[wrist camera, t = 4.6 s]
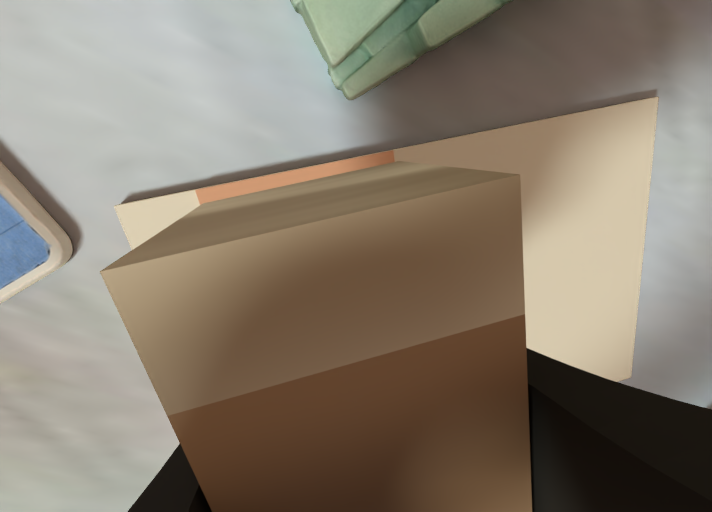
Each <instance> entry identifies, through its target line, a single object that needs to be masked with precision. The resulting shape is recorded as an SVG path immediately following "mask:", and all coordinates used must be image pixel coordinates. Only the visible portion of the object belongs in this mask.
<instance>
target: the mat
mask: <svg viewBox="0 0 712 512" xmlns="http://www.w3.org/2000/svg"><path fill="white" fill-rule="evenodd" d="M658 99H659V97H653V98H646V99H641V100H636V101H631V102H626V103H621V104H616V105H611V106H606V107H601V108H596V109H592V110H587V111H582V112H577V113H572V114H567V115H562V116H557V117H552V118H547V119H542V120H537V121H532V122H527V123H522V124H517V125H512V126H507V127H502V128H497V129H492V130H487V131H482V132H477V133H472V134H467V135H462V136H457V137H452V138H447V139H442V140H437V141H432V142H427V143H422V144H417V145H412V146H407V147H402V148H397V149H392V150H387V151H382V152H377V153H372V154H367V155H362V156H357V157H352V158H347V159H342V160H337V161H332V162H327V163H322V164H317V165H312V166H307V167H302V168H297V169H292V170H287V171H282V172H277V173H272V174H267V175H262V176H258V177H253V178H248V179H243V180H238V181H233V182H228V183H223V184H218V185H213V186H208V187H203V188H198V189H193V190H188V191H183V192H178V193H173V194H168V195H163V196H158V197H153V198H148V199H143V200H138V201H133V202H128V203H123V204H119V205H116V206H114V208H115V210H116V213H117V215H118V217H119V220H120V222H121V225H122V227H123V229H124V232H125V234H126V237H127V239H128V241H129V244H130V246H131V249H132V250H133V249H135V248H136V247H138V246H139V245H141V244H142V243H144V242H145V241H147V240H148V239H150V238H152V237H153V236H155V235H156V234H158V233H159V232H161V231H162V230H164V229H165V228H167V227H168V226H170V225H171V224H173V223H174V222H176V221H177V220H179V219H180V218H182V217H183V216H185V215H186V214H188V213H189V212H191V211H192V210H194V209H195V208H197V207H198V206H200V205H201V204H203V203H207V202H212V201H216V200H221V199H225V198H230V197H235V196H239V195H244V194H249V193H253V192H258V191H262V190H267V189H272V188H276V187H281V186H286V185H290V184H295V183H300V182H304V181H309V180H313V179H318V178H323V177H327V176H332V175H337V174H341V173H346V172H350V171H355V170H360V169H364V168H369V167H374V166H378V165H383V164H387V163H392V162H397V161H403V162H412V163H421V164H430V165H439V166H448V167H457V168H466V169H476V170H485V171H494V172H503V173H512V174H520V181H521V209H522V237H523V265H524V294H525V322H526V348H528V349H531V350H533V351H535V352H538V353H540V354H543V355H545V356H548V357H550V358H552V359H555V360H558V361H560V362H563V363H565V364H568V365H570V366H573V367H576V368H578V369H581V370H584V371H587V372H589V373H592V374H595V375H598V376H600V377H603V378H606V379H609V380H612V381H615V382H618V381H621V380H624V379H627V378H630V377H631V373H632V362H633V352H634V342H635V332H636V322H637V312H638V302H639V291H640V281H641V271H642V261H643V251H644V241H645V231H646V221H647V210H648V200H649V190H650V180H651V170H652V160H653V150H654V139H655V129H656V119H657V109H658Z"/></svg>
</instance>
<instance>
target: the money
mask: <svg viewBox="0 0 712 512" xmlns="http://www.w3.org/2000/svg"><path fill="white" fill-rule="evenodd" d="M290 1H291V3H292V5H293V7H294V9H295V11H296V12H298V13H299V14H301V15H302V17H303V19H304V21H305V23H306V25H307V27H308V29H309V31H310V33H311V35H312V38H313V40H314V42H315V44H316V45H317V47H318V49H319V51H320V53H321V55H322V57H323V58H324V60H325V61H326V62H327V64H328V74H329V75H330V76H331V79H332V82H333V83H334V85H335V87H336V88H337V89H338V90H342V91H343V94H344V96H345V97H346V98H347V99H348V100H354V99H356V98H357V97H359V96H361V95H363V94H365V93H366V92H368V91H369V90H371V89H372V88H374V87H377V86H378V85H379V84H381V83H382V82H383V81H385V80H386V79H388V78H389V77H390V76H392V75H394V74H396V73H397V72H399V71H400V70H402V69H404V68H406V67H408V66H409V65H410V64H412V63H413V62H414V61H416V60H417V59H418V58H419V57H420V56H422V55H423V54H425V53H426V52H427V51H432V50H434V49H436V48H437V47H439V46H441V45H442V44H444V43H446V42H448V41H449V40H451V39H452V38H454V37H455V36H457V35H459V34H461V33H462V32H464V31H466V30H467V29H469V28H470V27H472V26H474V25H475V24H477V23H478V22H480V21H481V20H483V19H485V18H487V17H488V16H490V15H491V14H493V13H494V12H495V11H497V10H498V9H500V8H501V7H503V6H504V5H505V4H507V3H510V2H512V1H513V0H290Z"/></svg>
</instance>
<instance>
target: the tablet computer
mask: <svg viewBox="0 0 712 512" xmlns="http://www.w3.org/2000/svg"><path fill="white" fill-rule="evenodd" d="M72 251H73V249H72V244H71V240H70V238H69V237H68V235H67V234H66V232H65V231H64V230H63V229H62V228H61V227H60V226H59V225H58V223H57V222H56V221H55V220H54V219H53V218H52V217H51V216H50V215H49V213H48V212H47V211H46V210H45V209H44V208H43V207H42V206H41V204H40V203H39V202H38V201H37V200H36V199H35V198H34V197H33V196H32V194H31V193H30V192H29V191H28V190H27V189H26V188H25V187H24V186H23V185H22V184H21V182H20V181H19V180H18V179H17V178H16V177H15V176H14V175H13V174H12V173H11V172H10V171H9V170H8V169H7V168H6V166H5V165H4V164H3V163H2V162H1V161H0V304H1V303H3V302H4V301H6V300H7V299H9V298H11V297H12V296H14V295H16V294H17V293H19V292H21V291H22V290H24V289H26V288H27V287H29V286H31V285H32V284H34V283H35V282H37V281H39V280H40V279H42V278H44V277H45V276H47V275H49V274H50V273H52V272H54V271H55V270H57V269H59V268H60V267H62V266H63V265H64V264H65V263H66V262H67V261H68V260H69V258H70V257H71V255H72Z"/></svg>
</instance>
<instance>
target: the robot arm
mask: <svg viewBox="0 0 712 512" xmlns="http://www.w3.org/2000/svg"><path fill="white" fill-rule="evenodd" d="M526 350H527V378H528V406H529V435H530V463H531V491H532V512H712V410H711V409H707V408H703V407H699V406H695V405H692V404H688V403H684V402H681V401H677V400H673V399H670V398H667V397H663V396H660V395H657V394H653V393H650V392H647V391H644V390H640V389H637V388H634V387H630V386H627V385H624V384H621V383H618V382H615V381H612V380H609V379H606V378H603V377H600V376H598V375H595V374H592V373H589V372H587V371H584V370H581V369H578V368H576V367H573V366H570V365H568V364H565V363H563V362H560V361H558V360H555V359H552V358H550V357H548V356H545V355H543V354H540V353H538V352H535V351H533V350H531V349H528V348H526ZM128 512H212V510H211V508H210V506H209V504H208V502H207V500H206V498H205V495H204V493H203V491H202V489H201V487H200V485H199V483H198V480H197V478H196V476H195V474H194V472H193V470H192V468H191V466H190V463H189V461H188V459H187V457H186V455H185V453H184V451H183V448H182V446H181V444H179V446H178V447H177V448H176V450H175V451H174V452H173V454H172V455H171V456H170V458H169V459H168V461H167V462H166V463H165V465H164V466H163V467H162V469H161V470H160V471H159V473H158V474H157V475H156V476H155V478H154V479H153V480H152V481H151V483H150V484H149V485H148V487H147V488H146V489H145V490H144V492H143V493H142V494H141V495H140V497H139V498H138V499H137V500H136V502H135V503H134V504H133V505H132V507H131V508H130V509H129V511H128Z"/></svg>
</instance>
